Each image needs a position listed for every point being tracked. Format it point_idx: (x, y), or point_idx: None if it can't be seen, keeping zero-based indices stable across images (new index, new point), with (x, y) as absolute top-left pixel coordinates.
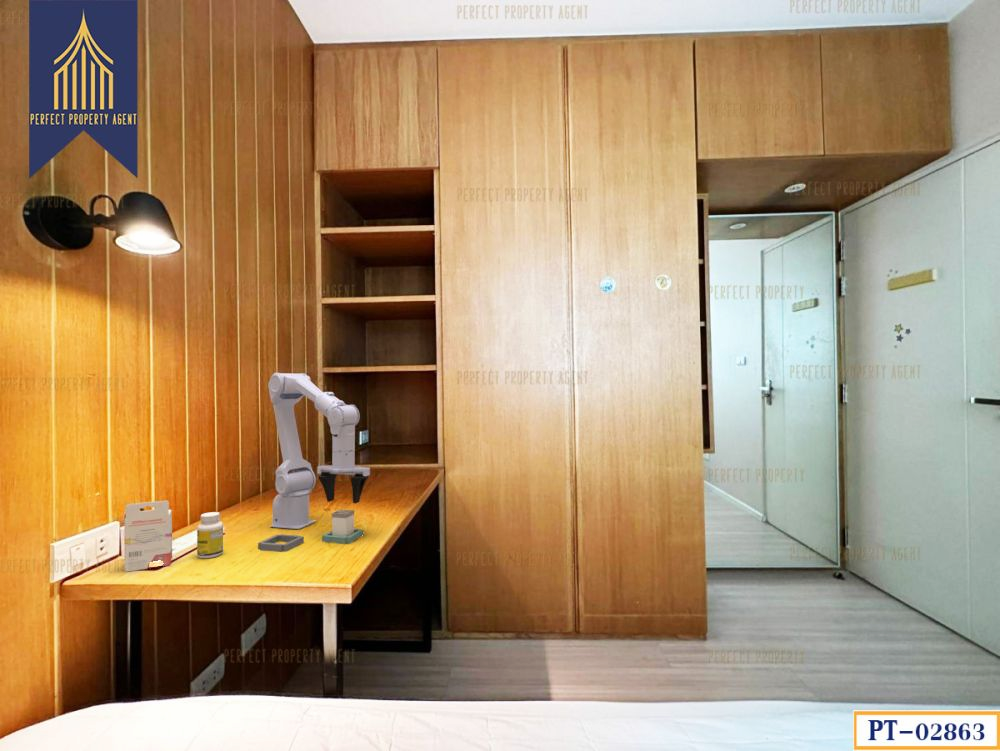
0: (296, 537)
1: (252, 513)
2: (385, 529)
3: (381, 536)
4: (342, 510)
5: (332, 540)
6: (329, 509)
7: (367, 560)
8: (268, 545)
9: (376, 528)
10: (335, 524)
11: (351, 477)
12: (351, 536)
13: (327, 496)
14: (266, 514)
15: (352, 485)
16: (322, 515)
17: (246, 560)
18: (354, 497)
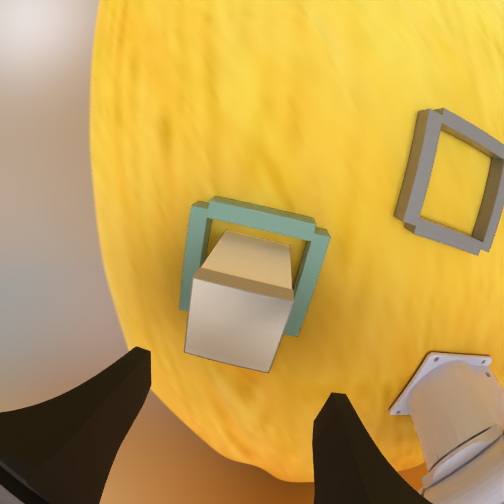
0: (427, 221)
1: None
2: None
3: (123, 284)
4: (250, 356)
5: (275, 211)
6: None
7: (93, 47)
8: (482, 131)
9: (177, 364)
10: (271, 267)
11: (21, 479)
12: (190, 221)
13: (350, 416)
14: None
15: (71, 429)
16: None
17: (481, 51)
18: (116, 366)
